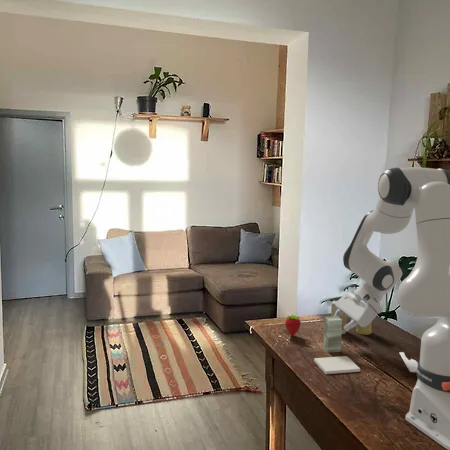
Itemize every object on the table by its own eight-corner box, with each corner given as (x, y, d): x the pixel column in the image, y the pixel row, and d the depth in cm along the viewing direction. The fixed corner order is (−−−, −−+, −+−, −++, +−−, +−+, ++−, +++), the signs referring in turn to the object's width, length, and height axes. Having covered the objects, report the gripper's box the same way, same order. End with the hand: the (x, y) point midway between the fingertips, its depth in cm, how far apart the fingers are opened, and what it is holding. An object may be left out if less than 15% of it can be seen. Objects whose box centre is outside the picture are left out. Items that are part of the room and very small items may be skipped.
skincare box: (329, 332, 183) (330, 303, 182) (330, 329, 187) (331, 300, 186) (346, 334, 181) (347, 304, 180) (346, 330, 185) (348, 301, 184)
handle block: (340, 351, 164) (342, 319, 163) (327, 352, 163) (328, 320, 162) (336, 347, 168) (337, 316, 167) (323, 348, 167) (324, 316, 166)
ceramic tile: (360, 371, 149) (360, 368, 148) (325, 374, 146) (325, 371, 146) (346, 358, 158) (346, 356, 158) (314, 361, 156) (314, 358, 156)
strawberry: (299, 333, 182) (300, 309, 181) (300, 340, 175) (301, 315, 173) (284, 332, 183) (285, 308, 181) (285, 339, 175) (285, 314, 174)
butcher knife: (413, 355, 163) (414, 352, 163) (425, 374, 148) (426, 371, 148) (399, 354, 164) (399, 351, 163) (409, 373, 149) (409, 369, 149)
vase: (372, 335, 180) (374, 300, 179) (356, 334, 182) (357, 299, 180) (370, 330, 186) (372, 296, 184) (355, 328, 188) (356, 295, 186)
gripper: (347, 284, 175) (322, 310, 175) (373, 300, 155) (345, 329, 155) (357, 295, 176) (333, 320, 176) (385, 312, 156) (357, 341, 156)
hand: (339, 325), depth 165 cm, fingers open, 8 cm apart
